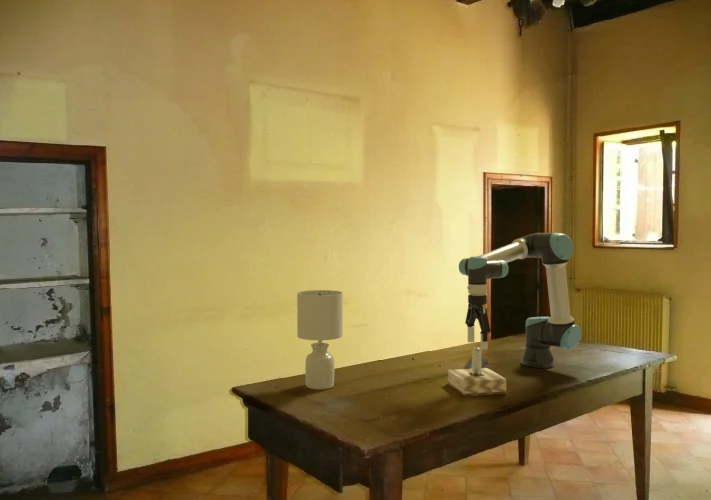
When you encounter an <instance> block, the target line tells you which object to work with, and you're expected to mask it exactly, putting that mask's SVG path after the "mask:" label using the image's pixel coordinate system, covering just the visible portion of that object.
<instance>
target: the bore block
mask: <svg viewBox="0 0 711 500" xmlns="http://www.w3.org/2000/svg"><path fill="white" fill-rule="evenodd" d="M447 385H448V386H450V387H451V388H452V389H453V390H455V391H456V392H457V393H459V394H460V395H461V396H462V397H473V396H474V397H475V396H492V395H494V394H496V395H506V394H507V378H505V377H503V376H502V375H500V374H499V373H497V372H495V371H494V370H492V369H488V368H482V373H481V376H472V369H465V368H462V369H461V368H460V369H457V368H456V369H447ZM491 394H492V395H491Z"/></svg>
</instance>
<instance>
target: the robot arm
mask: <svg viewBox="0 0 711 500" xmlns="http://www.w3.org/2000/svg"><path fill="white" fill-rule="evenodd" d="M573 253H574V244H573V241H572V239H571V237H569V236H568V235H567V234H565V233H561V232H535V233H530V234H528V235H524V236H522V237H518V238H515V239H514V240H513V241H512V242H511V243H509V244H506V245H504V246H501V247H498V248H496V249H494V250H491V251H489V252H485V253H483V254H481V255H480V254H479V255H478V256H470V257H465V258H462V259H461V260H460V261H459V263H458V270H459V271H458V272H459V273H460V274H462V276H467V282H468V283H467V287H466V288H467V293H468V295H467V303H468V305H467V312H466V316H465V322H464V323H465V325H466V327H467V343H475V323H476V320H477V321H478V325H479V328H480V332H479V333H480V347H481V350H482V351H483V350H488V347H489V346H488V344H489V343H488V342H489V341H488V340H489V337H488V336H489V335H488V334H490V333H491V326H490V322H489V321H490V320H489V316H488V309H487V307H485V308H484V305H486V304H487V302H488V297H487V293H488V284H487V283H488V280H489V279H490V280H491V279H501V278H505V277H506V276H508V274H509V270H510V269H509V265H508V263H509V262H510V263H511V262H513V261H515V260H523V259H527V258H536V259H541V264H542V265H543V266H544V267H545V271H546V280H547V281H546V282H547V291H548V292H547V293H548V300H549V310H550V316H533V317H532V316H531V317H528V318H527V319H526V320H525V330H524V331H525V343H524V344H525V346H524V351H523V354H522V355H521V361H520V363H521V365H523V366H525V367H530V368H538V369H539V368H540V369H545V368H546V369H548V368H553V367H554V365H555V360H554V357H553V353H552V350H551V347H555V348H560V349H562V350H572V349H575V348H576V347H577V346H578V345H579V343H580V341H581V338H582V329H581V327H580V326H579V325H577V324H576V323H575V318H574V317H573V316H572V315H571V307H570V297H569V288H568V277H567V264H568V263H569V262H570V260H569V259H570V258H572V256H573Z"/></svg>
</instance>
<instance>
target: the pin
mask: <svg viewBox="0 0 711 500" xmlns="http://www.w3.org/2000/svg"><path fill="white" fill-rule="evenodd" d="M482 357H483V350H481V346H473V347H472V348H471V358H472V376H481V373H482Z"/></svg>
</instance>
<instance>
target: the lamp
mask: <svg viewBox="0 0 711 500" xmlns="http://www.w3.org/2000/svg"><path fill="white" fill-rule="evenodd" d="M343 293H344V292H342V291H339V290H330V289H329V290H328V289H323V290H322V289H316V290H315V289H312V290H303V291H298V292H297V295H296V296H297V297H296V298H297V299H296V300H297V303H296V304H297V305H296V306H297V307H296V308H297V314H296V315H297V317H296V319H297V324H296V325H297V326H296V327H297V328H296V329H297V333H296V335H297V336H296V337H297V338H298V339H301V340H307V341H317V342H313V343H311V344H310V346H311V348H312V351H311V352H310V353H308V354H307V355H306V357H305V365H304V368H305V369H304V371H305V378H304V379H305V386H306V388H308V389H309V390H315V391H320V390H321V391H322V390H329V389H332V388H333V387H334V386H335V358H334V355H333V354H331V353H330V352H329V351H328V347H329V346H330V345H329V343H327V342H323V341H331V340H332V341H333V340H337V339H340V338H342V337H343V307H344V306H343V299H344V297H343V296H344V295H343Z"/></svg>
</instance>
